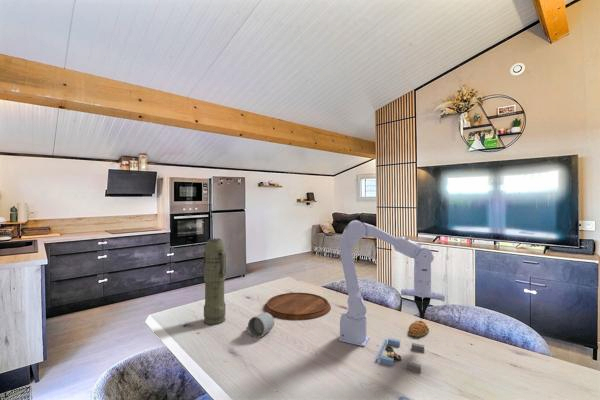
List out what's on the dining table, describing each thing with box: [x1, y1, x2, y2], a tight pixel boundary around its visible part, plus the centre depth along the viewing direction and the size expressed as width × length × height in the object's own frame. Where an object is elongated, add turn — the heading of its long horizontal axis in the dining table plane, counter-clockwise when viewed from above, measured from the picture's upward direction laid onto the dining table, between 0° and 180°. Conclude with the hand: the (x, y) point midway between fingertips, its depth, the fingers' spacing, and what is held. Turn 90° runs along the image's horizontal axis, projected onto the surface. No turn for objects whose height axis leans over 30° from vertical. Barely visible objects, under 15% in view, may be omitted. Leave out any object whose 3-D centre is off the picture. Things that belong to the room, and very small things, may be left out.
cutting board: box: [264, 292, 332, 321], centre depth 143 cm, size 32×32×2 cm
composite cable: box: [385, 345, 403, 362], centre depth 99 cm, size 10×5×2 cm, turn 168°
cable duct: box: [375, 337, 425, 374], centre depth 98 cm, size 13×15×2 cm
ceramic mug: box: [245, 312, 275, 339], centre depth 115 cm, size 11×8×8 cm
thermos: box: [203, 238, 227, 326], centre depth 126 cm, size 9×12×35 cm
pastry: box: [408, 320, 430, 338], centre depth 115 cm, size 9×7×4 cm
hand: (422, 317), depth 106 cm, fingers closed
